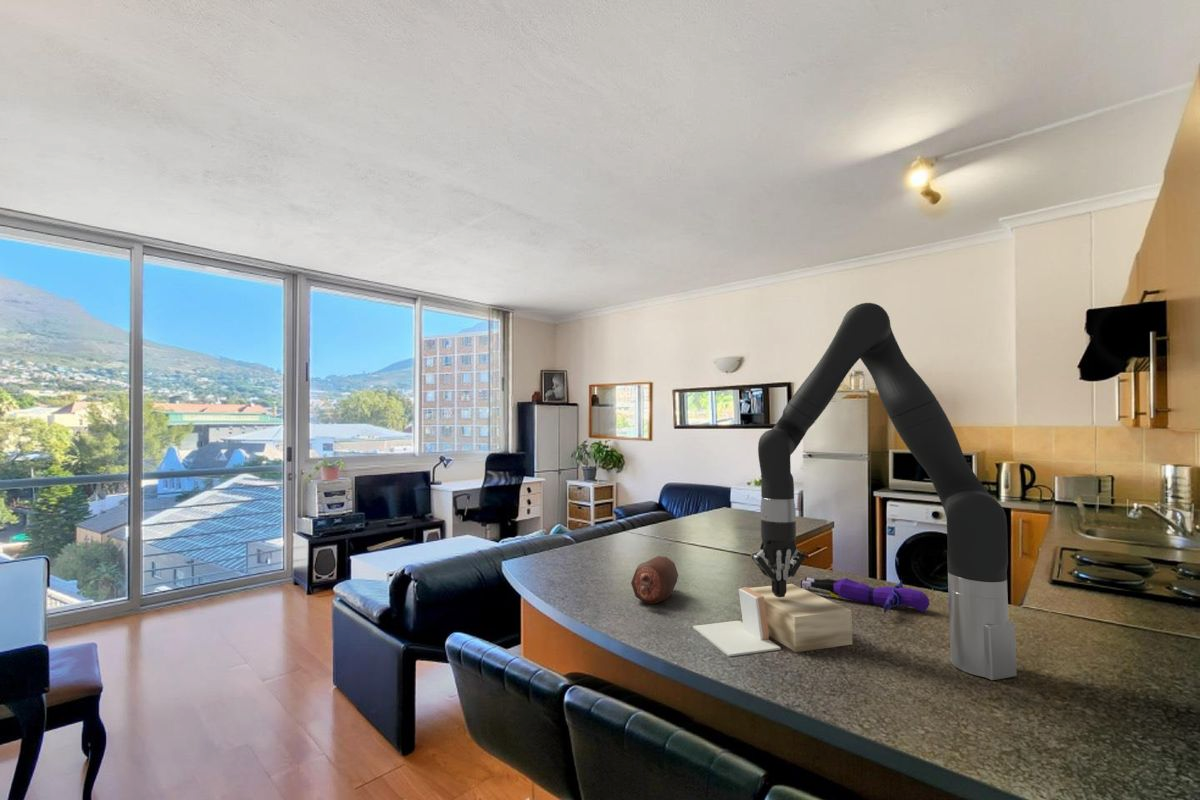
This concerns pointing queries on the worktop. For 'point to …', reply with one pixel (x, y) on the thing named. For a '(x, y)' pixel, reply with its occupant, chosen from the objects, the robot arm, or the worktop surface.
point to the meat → (654, 580)
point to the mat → (734, 638)
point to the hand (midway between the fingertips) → (779, 596)
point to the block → (806, 619)
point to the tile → (753, 613)
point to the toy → (871, 593)
